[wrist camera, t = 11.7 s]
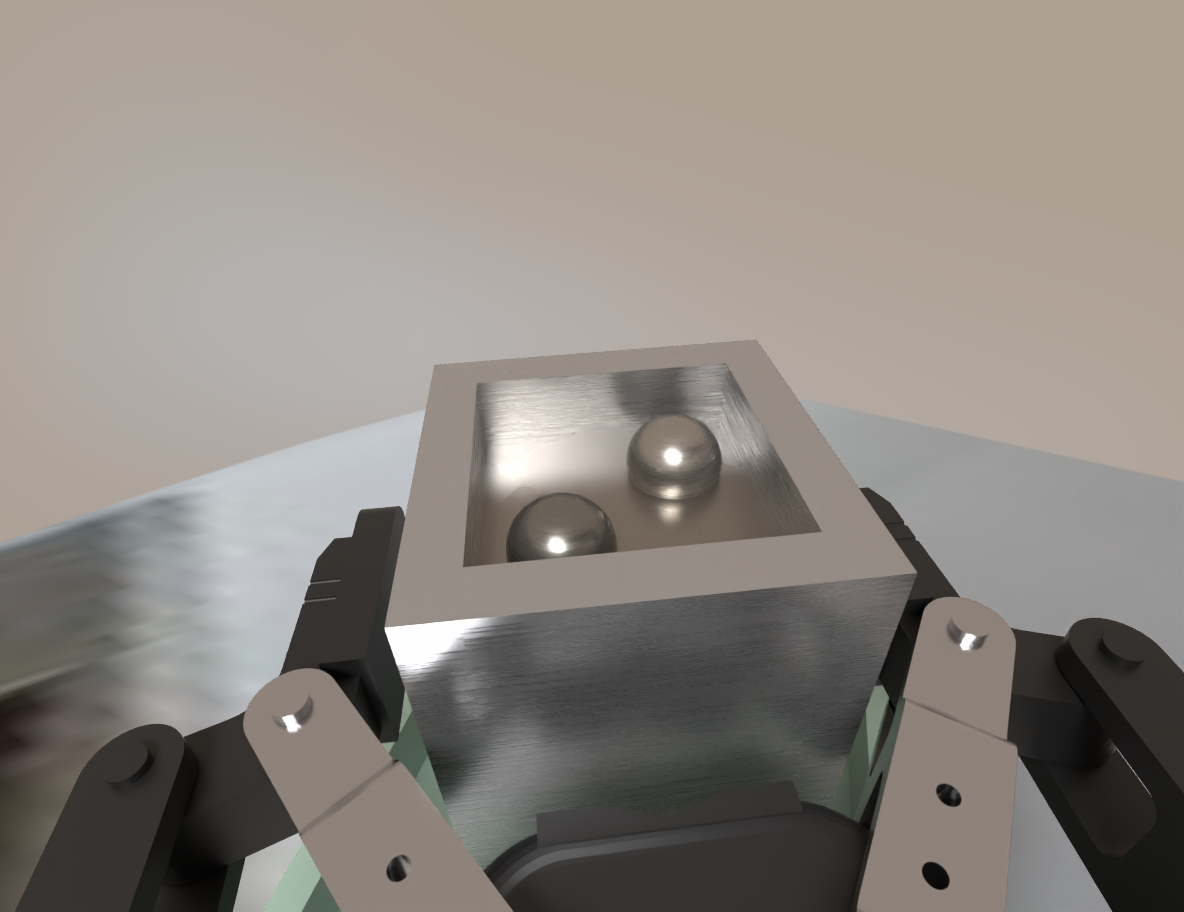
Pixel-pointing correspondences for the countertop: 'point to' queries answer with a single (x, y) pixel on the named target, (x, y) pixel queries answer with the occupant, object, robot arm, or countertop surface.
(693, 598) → the canister
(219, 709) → the countertop surface
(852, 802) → the bin
